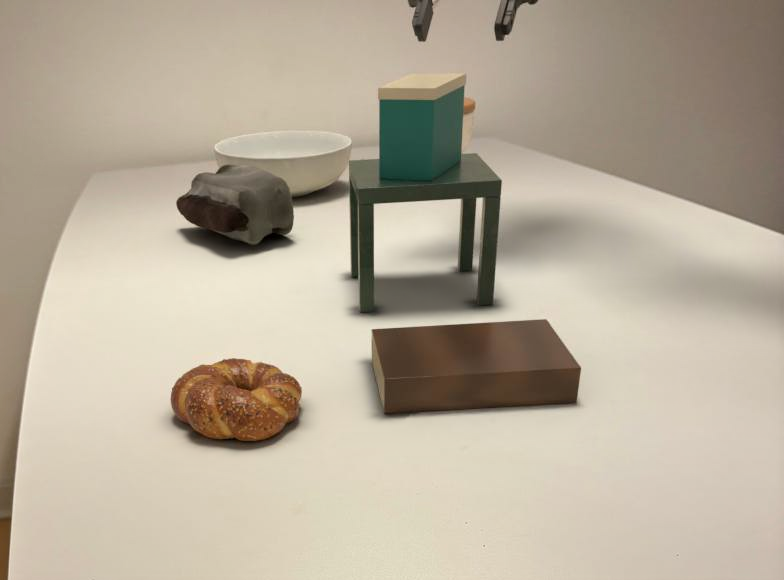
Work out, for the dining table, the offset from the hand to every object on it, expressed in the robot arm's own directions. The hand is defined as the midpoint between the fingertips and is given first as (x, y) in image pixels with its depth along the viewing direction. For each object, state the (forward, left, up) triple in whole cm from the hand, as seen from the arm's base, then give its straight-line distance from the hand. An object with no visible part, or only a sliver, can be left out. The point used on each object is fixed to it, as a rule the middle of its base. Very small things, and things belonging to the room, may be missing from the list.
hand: (458, 35), depth 99 cm
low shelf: (+4, +37, -23) cm, 44 cm away
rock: (+26, -16, -23) cm, 38 cm away
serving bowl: (+19, -42, -23) cm, 51 cm away
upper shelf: (+5, +10, -23) cm, 25 cm away
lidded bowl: (-6, -56, -23) cm, 60 cm away
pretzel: (+24, +42, -23) cm, 54 cm away
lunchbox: (+5, +10, -11) cm, 16 cm away
